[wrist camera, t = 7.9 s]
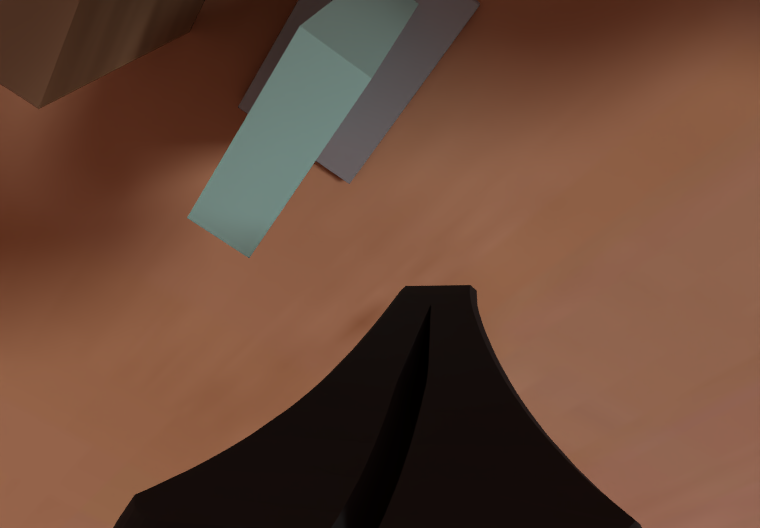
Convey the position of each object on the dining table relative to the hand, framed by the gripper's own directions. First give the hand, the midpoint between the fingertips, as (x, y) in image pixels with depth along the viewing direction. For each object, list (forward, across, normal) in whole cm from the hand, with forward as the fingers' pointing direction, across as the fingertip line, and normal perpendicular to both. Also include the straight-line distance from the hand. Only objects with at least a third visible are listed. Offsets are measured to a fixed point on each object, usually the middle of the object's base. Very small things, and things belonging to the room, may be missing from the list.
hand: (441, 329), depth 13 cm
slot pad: (+10, +3, -3) cm, 11 cm away
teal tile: (+10, +3, -3) cm, 11 cm away
